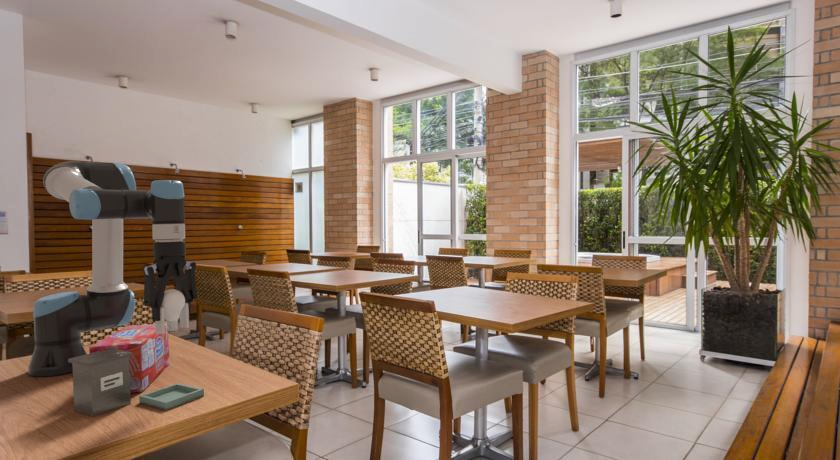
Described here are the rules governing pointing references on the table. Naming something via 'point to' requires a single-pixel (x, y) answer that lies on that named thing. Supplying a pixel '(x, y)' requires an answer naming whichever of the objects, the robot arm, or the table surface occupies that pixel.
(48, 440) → the table surface
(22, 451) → the table surface
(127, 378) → the grey lidded bin
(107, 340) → the box
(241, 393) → the table surface
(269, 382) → the table surface
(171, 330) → the lightbulb
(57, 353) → the robot arm
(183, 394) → the tray
